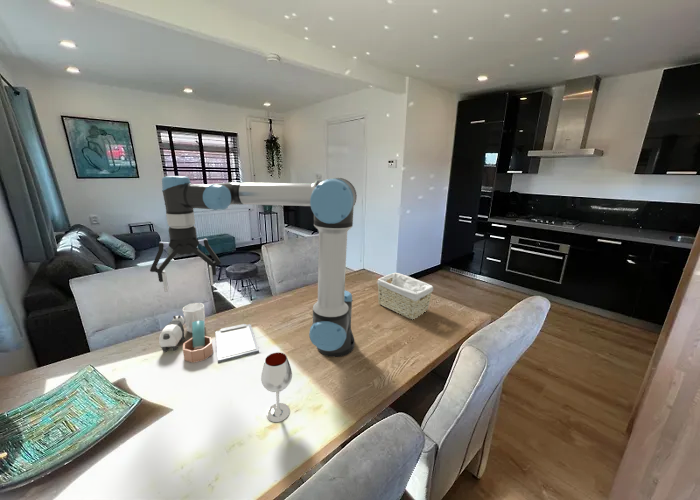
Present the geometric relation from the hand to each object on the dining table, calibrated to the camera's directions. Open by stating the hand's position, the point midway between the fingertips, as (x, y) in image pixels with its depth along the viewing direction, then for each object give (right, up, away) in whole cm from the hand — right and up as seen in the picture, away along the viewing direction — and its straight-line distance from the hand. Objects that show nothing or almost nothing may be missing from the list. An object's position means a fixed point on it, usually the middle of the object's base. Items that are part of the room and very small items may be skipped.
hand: (190, 287), depth 95 cm
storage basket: (+82, -17, +48) cm, 96 cm away
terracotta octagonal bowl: (-1, -26, +8) cm, 27 cm away
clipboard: (+10, -24, +15) cm, 30 cm away
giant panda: (-13, -24, +13) cm, 30 cm away
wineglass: (+34, -34, -16) cm, 51 cm away
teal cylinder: (0, -25, +6) cm, 25 cm away
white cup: (-11, -21, +23) cm, 33 cm away
